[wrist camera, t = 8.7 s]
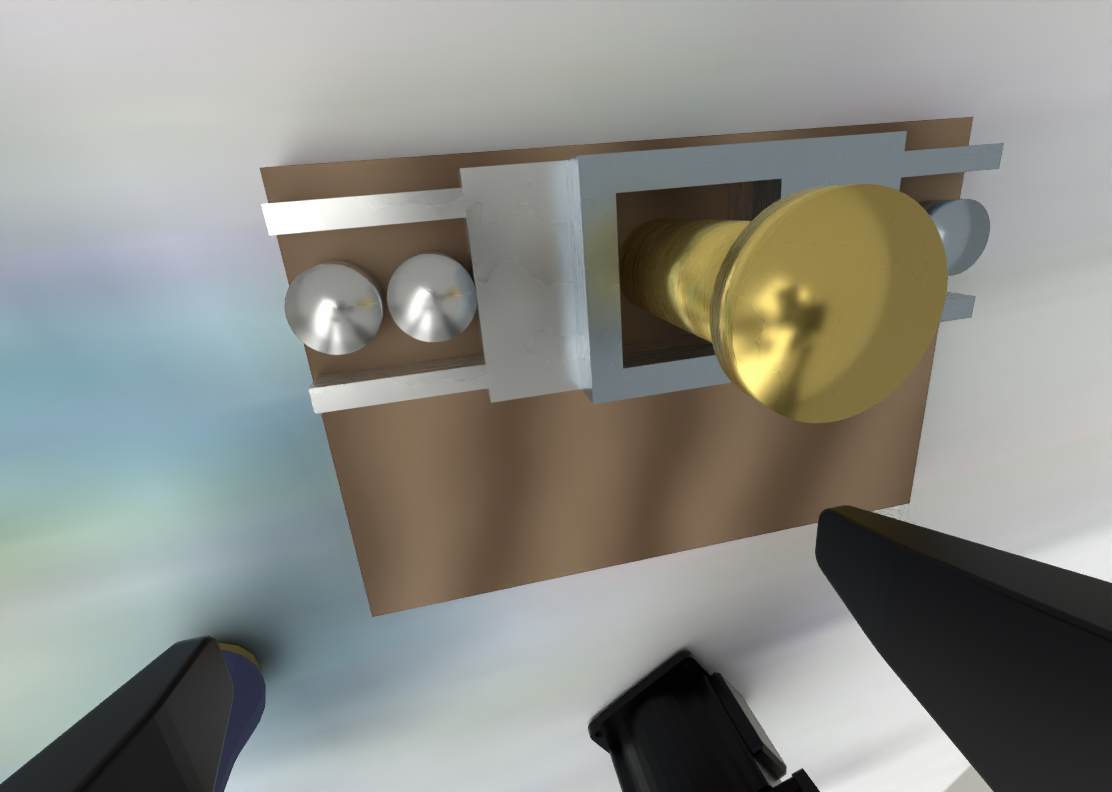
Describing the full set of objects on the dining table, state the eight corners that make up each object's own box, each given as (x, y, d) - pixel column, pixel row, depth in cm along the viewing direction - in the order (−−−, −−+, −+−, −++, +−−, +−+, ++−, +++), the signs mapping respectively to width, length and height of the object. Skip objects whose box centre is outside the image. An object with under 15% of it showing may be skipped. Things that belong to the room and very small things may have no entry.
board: (376, 591, 22) (372, 617, 21) (274, 171, 17) (259, 167, 15) (884, 487, 26) (909, 503, 25) (936, 123, 21) (973, 116, 19)
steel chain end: (324, 412, 18) (315, 429, 16) (268, 186, 15) (251, 183, 14) (748, 349, 20) (771, 360, 19) (757, 148, 18) (784, 143, 17)
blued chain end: (570, 376, 19) (593, 404, 17) (553, 164, 17) (577, 155, 14) (937, 322, 22) (1010, 338, 19) (968, 132, 20) (1056, 119, 17)
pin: (644, 357, 20) (800, 465, 11) (570, 255, 18) (691, 295, 10) (743, 276, 19) (975, 326, 11) (678, 165, 18) (898, 126, 9)
